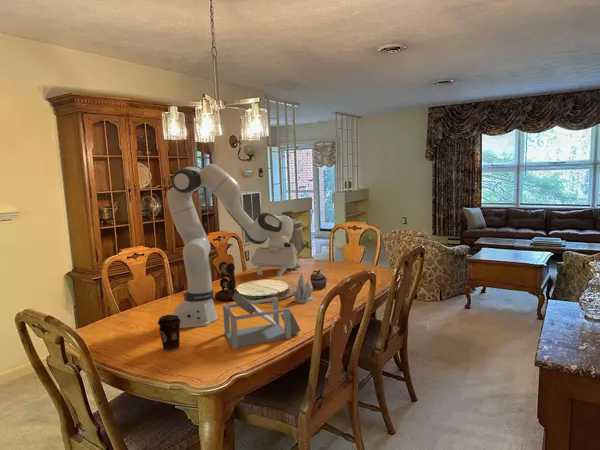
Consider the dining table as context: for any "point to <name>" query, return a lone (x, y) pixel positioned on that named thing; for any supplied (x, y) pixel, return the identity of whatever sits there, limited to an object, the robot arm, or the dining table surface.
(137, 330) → the dining table surface
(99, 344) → the dining table surface
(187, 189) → the robot arm
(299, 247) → the samovar
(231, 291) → the coffee pod holder
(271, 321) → the trapdoor
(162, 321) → the coffee cup
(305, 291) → the crystal
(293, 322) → the stone
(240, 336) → the frame
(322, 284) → the cupcake
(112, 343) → the dining table surface
